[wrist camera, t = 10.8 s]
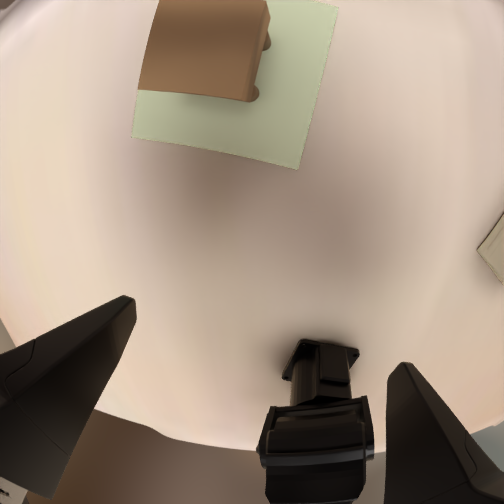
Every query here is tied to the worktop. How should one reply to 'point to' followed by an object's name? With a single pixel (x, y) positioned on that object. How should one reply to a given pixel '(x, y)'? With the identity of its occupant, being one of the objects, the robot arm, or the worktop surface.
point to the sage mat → (265, 106)
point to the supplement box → (495, 250)
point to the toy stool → (206, 48)
